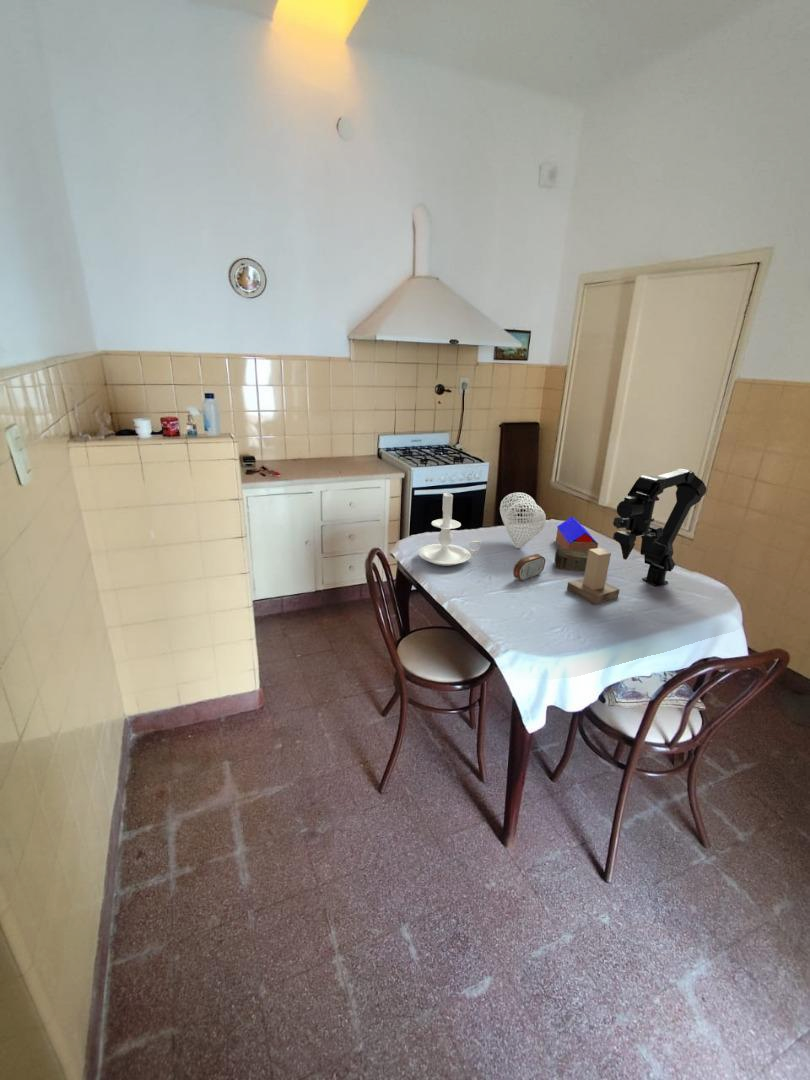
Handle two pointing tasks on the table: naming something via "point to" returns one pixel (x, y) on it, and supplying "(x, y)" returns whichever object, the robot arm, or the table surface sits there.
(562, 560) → the beverage carton
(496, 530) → the table surface
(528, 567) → the tin
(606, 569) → the kraft carton
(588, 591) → the walnut podium
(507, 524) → the heart
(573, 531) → the house
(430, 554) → the candlestick
